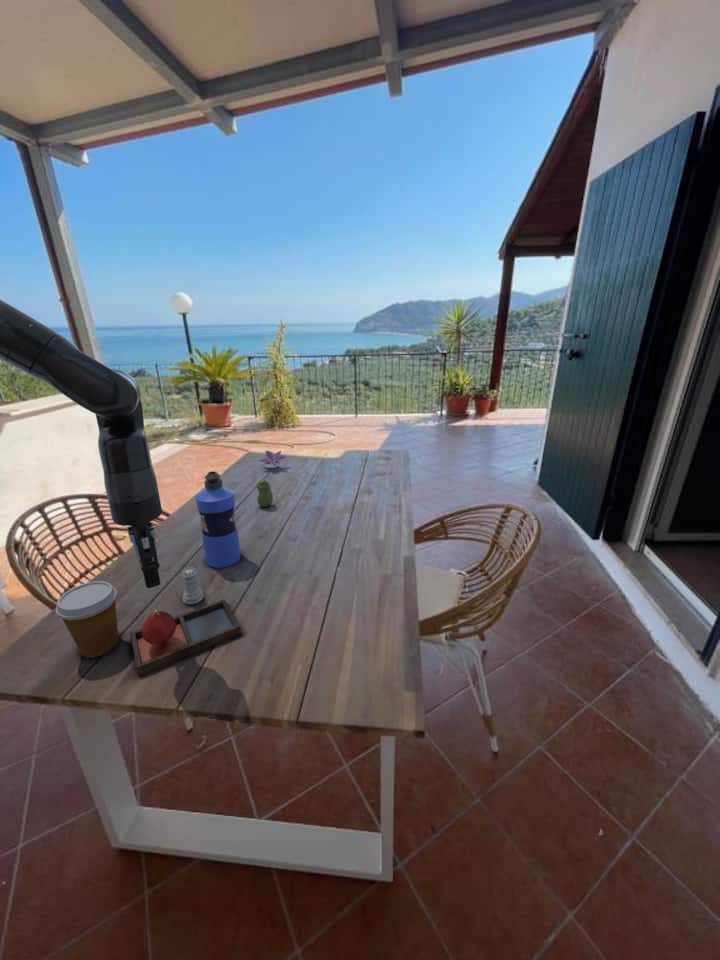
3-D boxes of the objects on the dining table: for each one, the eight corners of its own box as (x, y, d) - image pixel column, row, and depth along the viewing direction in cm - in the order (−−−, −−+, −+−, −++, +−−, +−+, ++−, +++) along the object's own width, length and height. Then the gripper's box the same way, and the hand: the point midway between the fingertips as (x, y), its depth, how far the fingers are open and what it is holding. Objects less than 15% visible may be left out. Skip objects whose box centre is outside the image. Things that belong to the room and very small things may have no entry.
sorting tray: (139, 676, 69) (136, 667, 69) (132, 640, 78) (129, 632, 77) (241, 634, 79) (240, 626, 79) (225, 606, 88) (224, 598, 87)
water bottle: (207, 571, 101) (193, 481, 92) (204, 554, 109) (191, 469, 100) (243, 563, 105) (233, 475, 96) (238, 547, 112) (228, 465, 104)
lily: (292, 469, 182) (286, 449, 183) (285, 467, 171) (279, 446, 171) (268, 476, 183) (262, 457, 184) (259, 475, 172) (253, 454, 172)
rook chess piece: (194, 591, 93) (189, 562, 90) (208, 596, 91) (203, 567, 88) (179, 602, 89) (173, 572, 86) (193, 608, 87) (187, 577, 84)
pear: (267, 510, 136) (264, 483, 133) (254, 508, 138) (252, 481, 135) (276, 504, 141) (274, 478, 138) (263, 502, 143) (261, 476, 140)
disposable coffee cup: (97, 669, 71) (81, 616, 67) (58, 657, 73) (40, 605, 69) (138, 634, 79) (127, 584, 75) (102, 624, 82) (89, 576, 78)
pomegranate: (139, 646, 75) (131, 612, 72) (168, 629, 80) (161, 596, 77) (156, 659, 72) (148, 624, 69) (184, 641, 77) (178, 607, 74)
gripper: (104, 483, 69) (122, 562, 75) (110, 511, 58) (130, 602, 64) (151, 476, 73) (165, 551, 79) (165, 501, 62) (179, 587, 68)
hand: (149, 574), depth 71 cm, fingers open, 8 cm apart
